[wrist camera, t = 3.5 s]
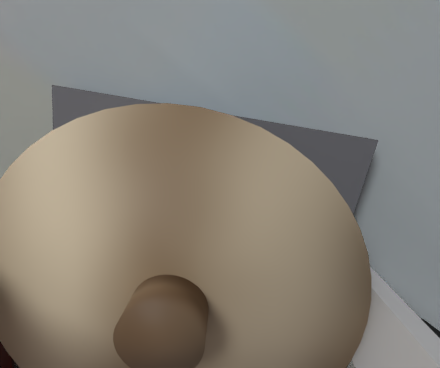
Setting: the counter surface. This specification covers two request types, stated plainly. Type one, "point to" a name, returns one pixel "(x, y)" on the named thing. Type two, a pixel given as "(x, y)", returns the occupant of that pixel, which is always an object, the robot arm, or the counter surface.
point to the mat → (296, 136)
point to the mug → (5, 358)
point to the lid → (176, 248)
